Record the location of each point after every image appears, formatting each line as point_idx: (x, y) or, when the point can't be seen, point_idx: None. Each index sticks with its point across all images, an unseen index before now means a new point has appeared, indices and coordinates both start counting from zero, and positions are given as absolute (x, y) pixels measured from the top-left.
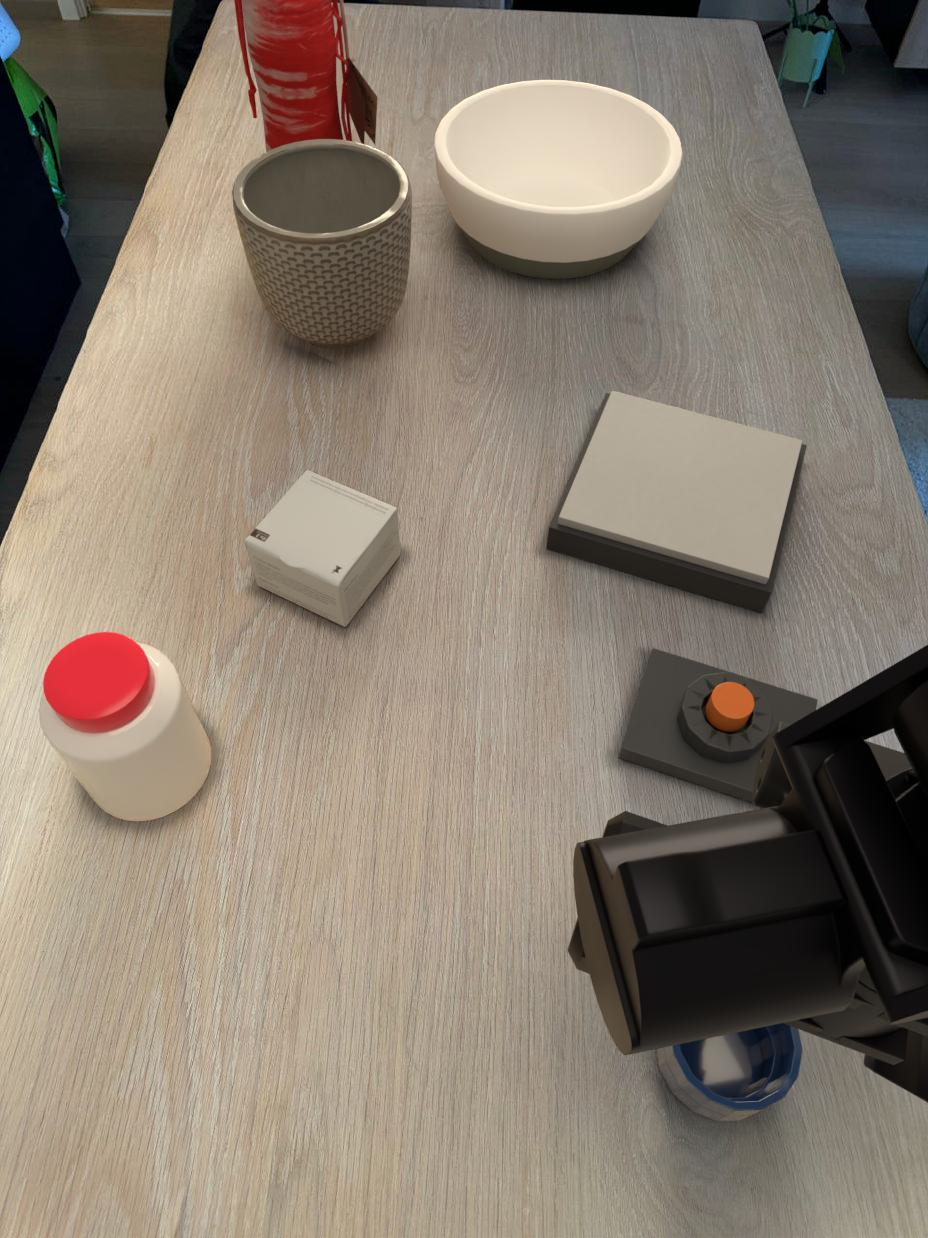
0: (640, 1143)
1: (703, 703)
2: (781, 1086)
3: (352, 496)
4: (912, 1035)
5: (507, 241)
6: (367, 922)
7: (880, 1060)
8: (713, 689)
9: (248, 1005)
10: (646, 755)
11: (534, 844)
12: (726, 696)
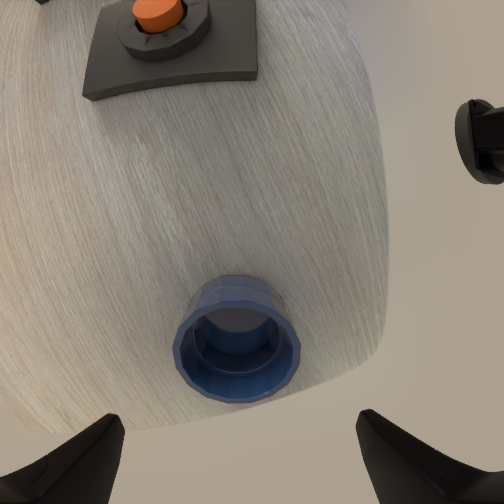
0: None
1: None
2: (285, 376)
3: None
4: (410, 498)
5: None
6: (13, 309)
7: (371, 463)
8: None
9: (10, 361)
10: (102, 89)
11: (55, 211)
12: (147, 2)
